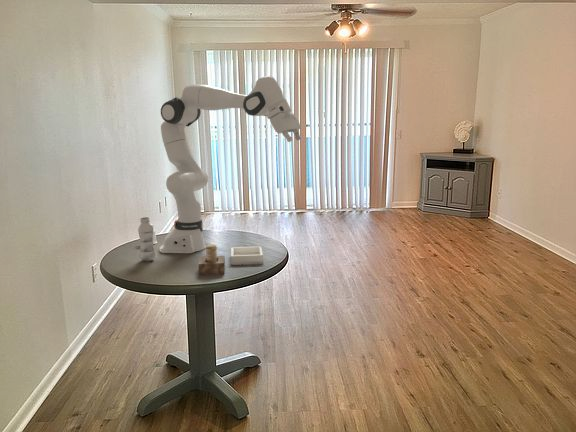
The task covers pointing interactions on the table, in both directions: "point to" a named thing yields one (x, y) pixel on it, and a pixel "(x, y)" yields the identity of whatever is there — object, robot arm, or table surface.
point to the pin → (211, 253)
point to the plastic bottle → (146, 240)
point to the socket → (211, 266)
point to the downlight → (154, 235)
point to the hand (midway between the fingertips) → (294, 140)
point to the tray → (246, 255)
